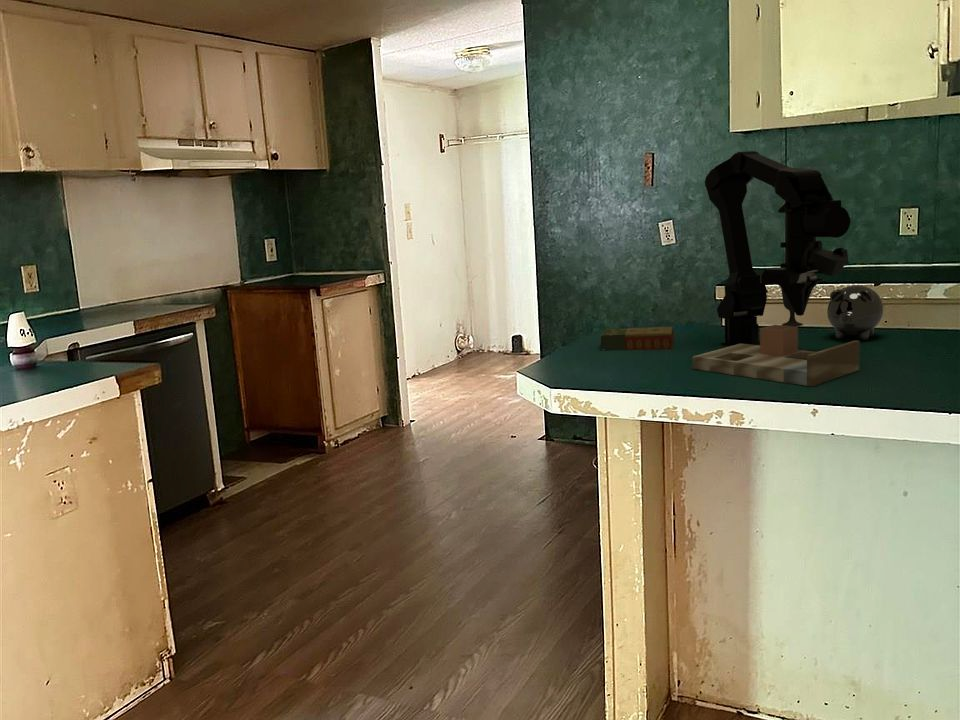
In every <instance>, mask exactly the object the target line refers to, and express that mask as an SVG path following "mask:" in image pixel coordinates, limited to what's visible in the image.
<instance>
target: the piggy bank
mask: <svg viewBox="0 0 960 720" xmlns="http://www.w3.org/2000/svg"><path fill="white" fill-rule="evenodd" d="M829 299H830V300H829V302H828V305H827V309H826V313H827V320H828V321H829V324H830V325H831V326H832V327H833V328H834V330H835V338H836V339H839V340H843V339H845V338H846V336H847V335H852V336H853V335H854V336H855V335H858V338H859V340H862V341H867V340H869V338H870V337H873V336H874V333H875V328H876V327H877V326H878V325H879V324H880V322H881V320H882V318H883V316H884V303H883V301H882V298H881V296H880V295H879V294H878V293H877V292H876V291H875V290H874V289H872V288H870V287H868V286H865V285H859V284H855V285H854V284H853V285H849V286H846V287H843V288H841V289H834V290H833V291H831V292H830V295H829Z"/></svg>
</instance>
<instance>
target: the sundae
mask: <svg viewBox="0 0 960 720" xmlns="http://www.w3.org/2000/svg"><path fill="white" fill-rule="evenodd" d="M778 286H779V287H780V288H781V289H780V290H781V295H782V297H781V298H782V302H783V306H784V308H785V309H786V310H788V311H789V319H788V321H787V322H784V323H782V324H781V325H784V326H795V327H802V326H804V323H802V322H799V321H797V320H796V313H795V311H794V309H793V307H792V305H791V303H790V301H789V299H788V297H787V295H786V294H785V292H784V290H783V289H782V287H781V285H778Z"/></svg>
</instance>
